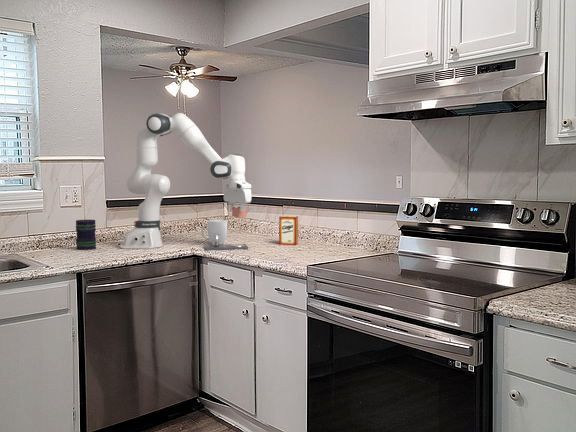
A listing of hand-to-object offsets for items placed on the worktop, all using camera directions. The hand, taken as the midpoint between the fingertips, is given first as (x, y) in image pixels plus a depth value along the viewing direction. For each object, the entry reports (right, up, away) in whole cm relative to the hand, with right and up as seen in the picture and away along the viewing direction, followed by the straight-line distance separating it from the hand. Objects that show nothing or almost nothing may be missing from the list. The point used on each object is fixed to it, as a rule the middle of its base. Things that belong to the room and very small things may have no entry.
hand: (237, 211), depth 299 cm
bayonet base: (-6, -20, +1) cm, 21 cm away
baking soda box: (+27, -19, +18) cm, 37 cm away
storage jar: (-79, -20, -3) cm, 81 cm away
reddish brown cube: (+1, -3, +2) cm, 3 cm away
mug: (-14, -18, +18) cm, 29 cm away
